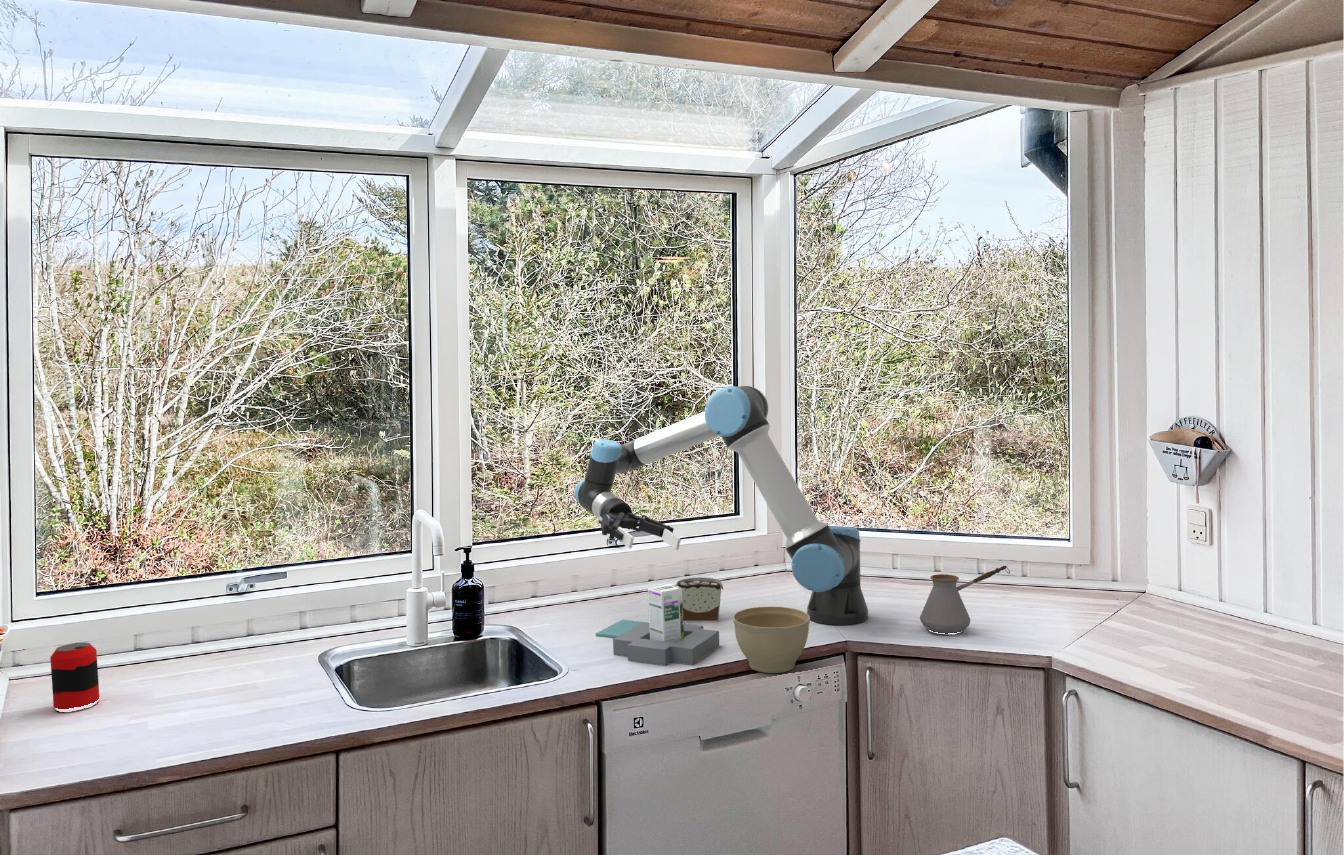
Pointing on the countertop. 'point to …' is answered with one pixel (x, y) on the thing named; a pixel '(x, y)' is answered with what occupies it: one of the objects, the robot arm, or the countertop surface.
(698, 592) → the food container
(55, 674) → the soda can
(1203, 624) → the countertop surface
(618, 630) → the service mat
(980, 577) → the coffee pot
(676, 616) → the syrup box
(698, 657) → the frame
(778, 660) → the planter bowl
